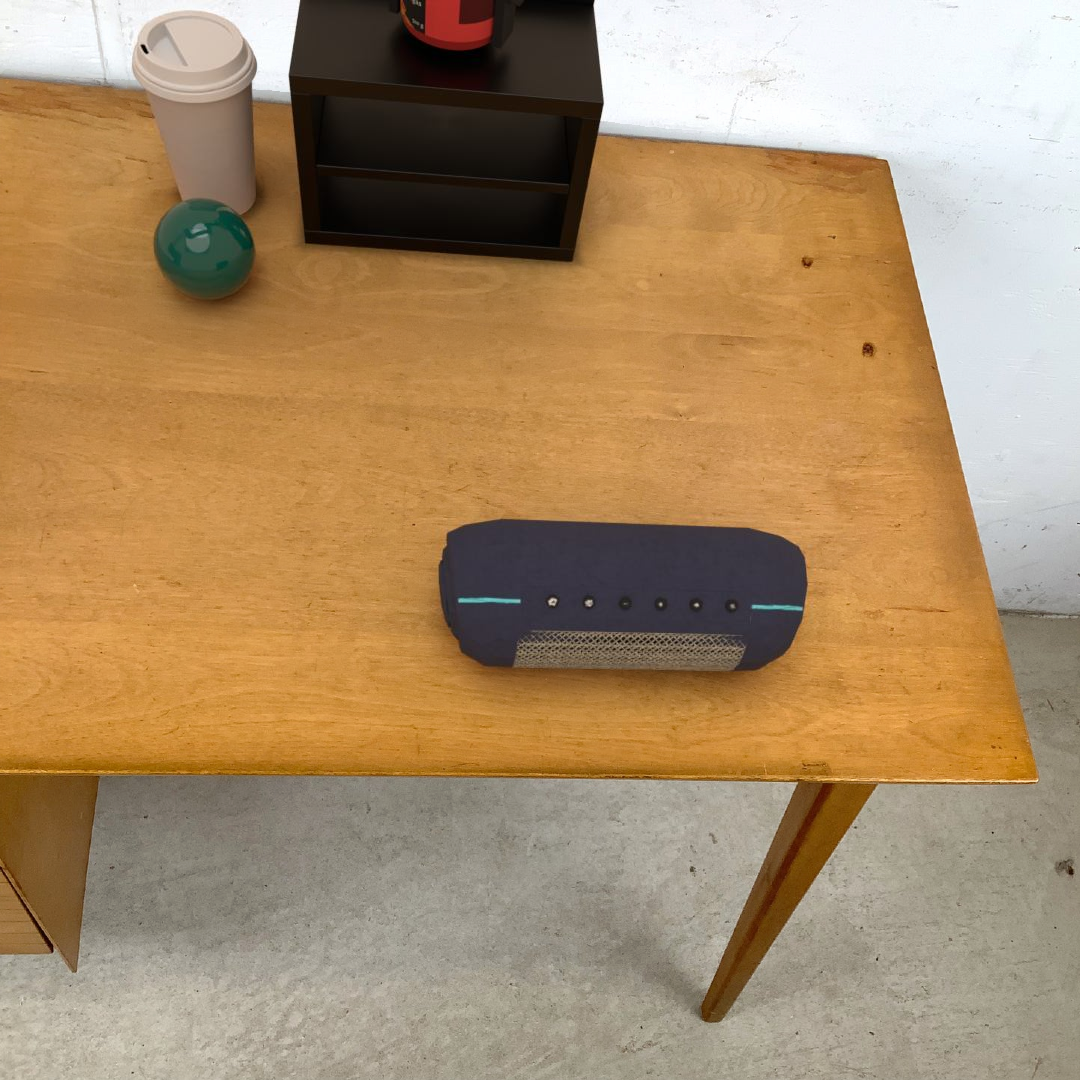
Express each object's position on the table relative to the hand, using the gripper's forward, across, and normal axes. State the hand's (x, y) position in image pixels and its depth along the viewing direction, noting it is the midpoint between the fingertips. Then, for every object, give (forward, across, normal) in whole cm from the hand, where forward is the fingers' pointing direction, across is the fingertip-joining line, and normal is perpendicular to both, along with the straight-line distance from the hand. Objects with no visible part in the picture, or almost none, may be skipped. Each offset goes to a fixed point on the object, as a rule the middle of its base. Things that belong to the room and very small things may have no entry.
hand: (451, 20), depth 80 cm
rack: (+18, 0, 0) cm, 18 cm away
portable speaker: (+18, +28, -36) cm, 49 cm away
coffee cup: (+18, -18, -9) cm, 27 cm away
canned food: (0, 0, 0) cm, 0 cm away
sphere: (+18, -13, -19) cm, 29 cm away
